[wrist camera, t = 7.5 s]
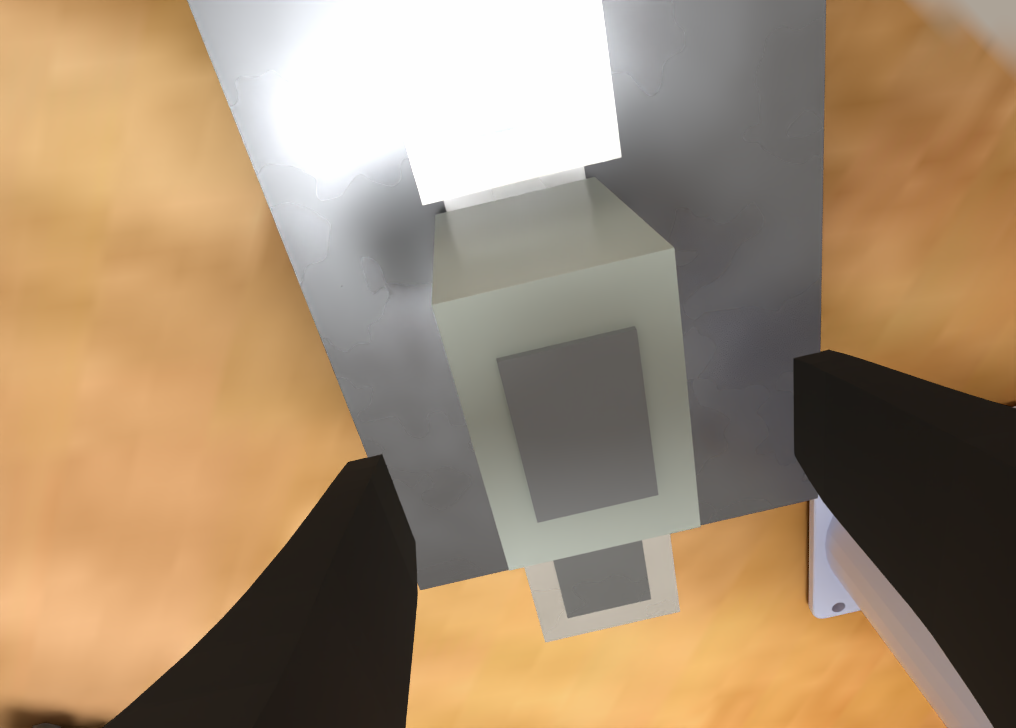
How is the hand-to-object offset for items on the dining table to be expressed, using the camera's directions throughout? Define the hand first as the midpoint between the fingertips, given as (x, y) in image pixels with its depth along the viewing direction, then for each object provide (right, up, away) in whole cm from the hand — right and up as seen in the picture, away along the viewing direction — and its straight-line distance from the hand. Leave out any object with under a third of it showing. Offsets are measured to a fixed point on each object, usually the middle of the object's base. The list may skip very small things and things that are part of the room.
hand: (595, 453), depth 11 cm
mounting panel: (0, +4, +7) cm, 8 cm away
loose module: (-1, +3, +6) cm, 7 cm away
